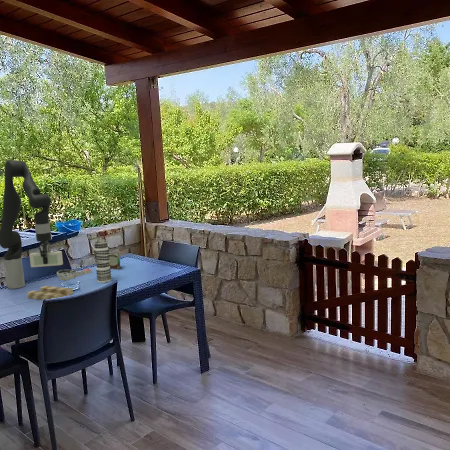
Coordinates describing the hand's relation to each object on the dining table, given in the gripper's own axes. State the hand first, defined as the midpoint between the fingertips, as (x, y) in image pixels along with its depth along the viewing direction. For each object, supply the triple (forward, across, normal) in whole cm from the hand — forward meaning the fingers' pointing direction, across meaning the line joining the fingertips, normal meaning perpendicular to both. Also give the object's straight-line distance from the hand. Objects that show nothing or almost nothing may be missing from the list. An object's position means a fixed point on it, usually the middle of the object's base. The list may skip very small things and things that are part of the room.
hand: (46, 262), depth 245 cm
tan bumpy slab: (+19, 0, 0) cm, 19 cm away
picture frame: (+1, 0, 0) cm, 1 cm away
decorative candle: (+19, +23, -26) cm, 39 cm away
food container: (+19, +52, -30) cm, 63 cm away
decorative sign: (+19, +43, -2) cm, 48 cm away
